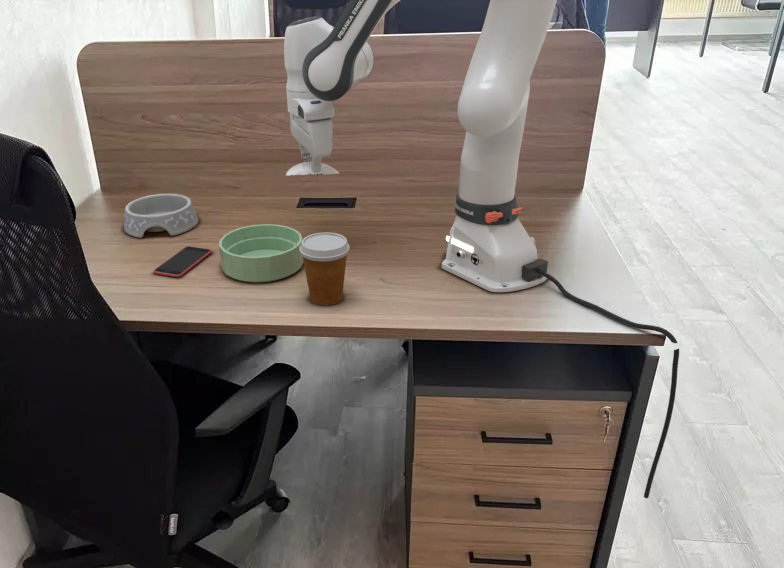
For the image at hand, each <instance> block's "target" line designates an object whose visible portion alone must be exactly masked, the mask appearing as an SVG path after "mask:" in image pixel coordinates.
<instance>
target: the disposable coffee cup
mask: <svg viewBox="0 0 784 568" xmlns="http://www.w3.org/2000/svg"><path fill="white" fill-rule="evenodd" d="M350 247H351V245H350V244H349V243H348V240H347V238H346V236H344V235H342V234H340V233H336V232H327V231H326V232H323V231H322V232H316V233H312V234H308V235H307V236H305V237H303V238H302V243H301V246H300V248H299V249H300V252H301V255H302V256H303V261H304V263H303V266H304V267H303V268H304V272H305V278H306V282H307V287H308V292H309V299H310V301H311V302H312V303H314V304H316V305H320V306H331V305H334V304H338V303H339V302H341V301H342V299H343V294H344V285H345V284H344V283H345V275H346V266H347V259H348V258H347V257H348V253H349V251H350Z"/></svg>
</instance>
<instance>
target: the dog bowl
mask: <svg viewBox="0 0 784 568" xmlns="http://www.w3.org/2000/svg"><path fill="white" fill-rule="evenodd" d="M198 223H199V217H198V215H197V213H196V210H195V208H194V205H193V201H192V200H191V199H190V197H188V196H186V195H183V194H177V193H157V194H156V193H155V194H150V195H146V196H141V197H139V198H136V199H134V200H132V201H130V202H129V203H127V204H126V206H125V208H124V224H123V230H124V232H125V233H126V234H127V235H129V236H131V237H135V238H143V237H144V235H145V234H144V233H145V232H150V233H157V232H158V233H159V232H165V231H166V232H167V233H168V235H170V236H177V235H180V234H184V233H186V232H188V231H190V230H192V229H193V228H195V227H196V226H197V225H198Z"/></svg>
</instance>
